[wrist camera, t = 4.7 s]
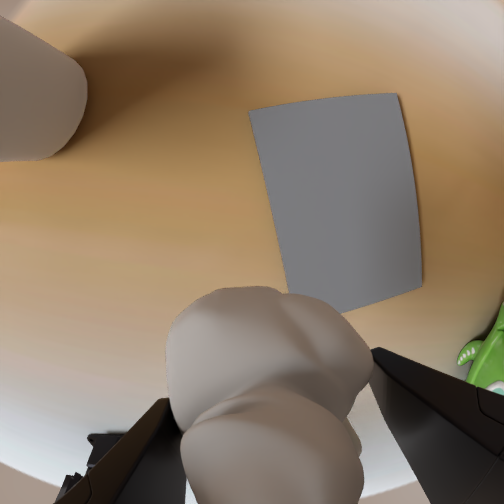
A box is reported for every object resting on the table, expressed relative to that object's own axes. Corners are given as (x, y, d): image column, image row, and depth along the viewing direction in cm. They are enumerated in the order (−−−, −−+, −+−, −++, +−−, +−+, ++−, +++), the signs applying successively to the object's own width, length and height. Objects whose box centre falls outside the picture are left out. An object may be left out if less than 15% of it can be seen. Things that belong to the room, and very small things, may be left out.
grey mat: (417, 283, 20) (421, 286, 20) (294, 321, 20) (296, 325, 20) (392, 94, 17) (396, 93, 16) (248, 112, 17) (248, 110, 16)
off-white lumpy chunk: (263, 218, 8) (435, 522, 1) (378, 353, 10) (493, 527, 2) (136, 331, 9) (39, 562, 1) (267, 431, 11) (294, 609, 3)
